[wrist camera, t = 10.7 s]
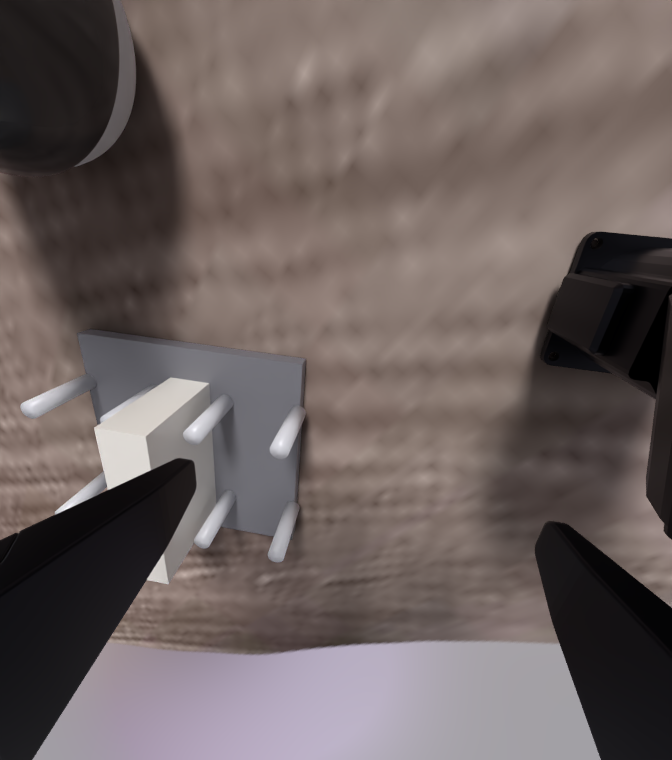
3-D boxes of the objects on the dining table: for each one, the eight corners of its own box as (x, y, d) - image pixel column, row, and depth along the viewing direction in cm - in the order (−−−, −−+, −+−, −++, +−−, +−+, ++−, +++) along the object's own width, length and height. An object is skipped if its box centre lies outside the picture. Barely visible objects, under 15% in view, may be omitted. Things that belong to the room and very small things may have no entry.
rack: (312, 359, 20) (291, 395, 16) (300, 529, 26) (282, 593, 21) (84, 328, 21) (2, 353, 17) (120, 497, 27) (66, 550, 22)
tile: (209, 383, 21) (145, 436, 15) (216, 506, 25) (168, 584, 19) (170, 377, 21) (93, 427, 15) (184, 500, 25) (127, 575, 19)
